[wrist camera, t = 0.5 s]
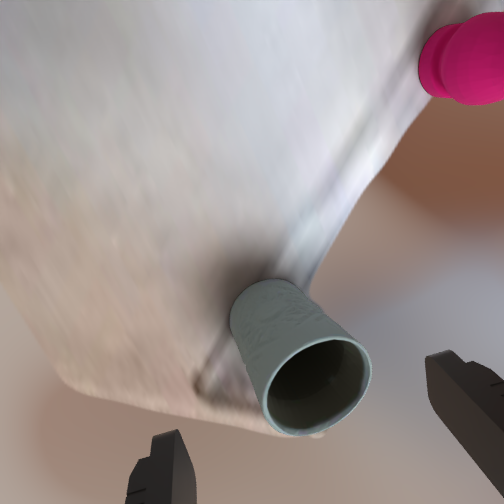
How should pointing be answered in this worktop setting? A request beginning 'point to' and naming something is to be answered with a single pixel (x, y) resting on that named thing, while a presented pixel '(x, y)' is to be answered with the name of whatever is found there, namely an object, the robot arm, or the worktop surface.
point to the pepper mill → (466, 61)
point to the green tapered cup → (297, 358)
